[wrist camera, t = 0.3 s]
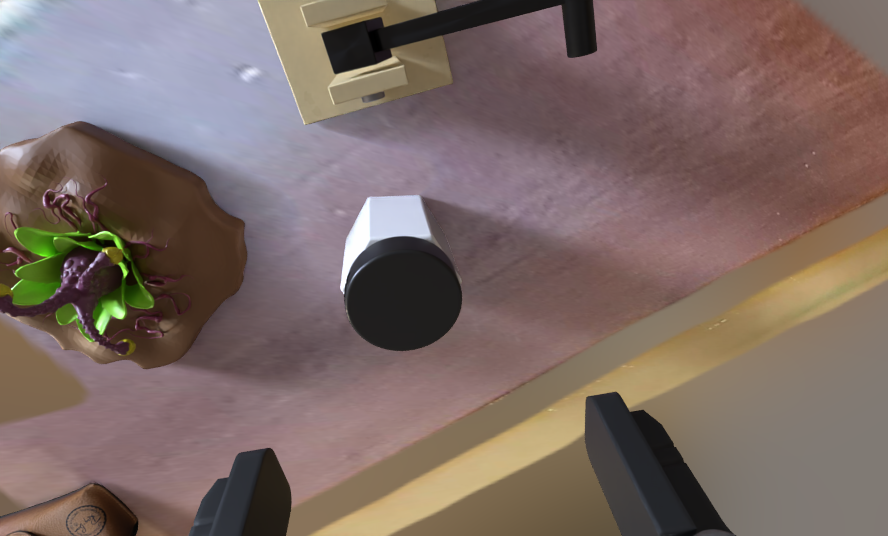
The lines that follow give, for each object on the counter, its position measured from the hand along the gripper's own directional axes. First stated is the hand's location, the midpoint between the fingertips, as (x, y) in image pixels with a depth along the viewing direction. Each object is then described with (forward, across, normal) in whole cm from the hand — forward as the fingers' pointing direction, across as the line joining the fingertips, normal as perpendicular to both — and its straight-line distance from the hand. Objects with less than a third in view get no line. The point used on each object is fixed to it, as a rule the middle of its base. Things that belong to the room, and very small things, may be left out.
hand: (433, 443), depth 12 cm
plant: (+30, +26, +5) cm, 40 cm away
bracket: (+32, +2, -7) cm, 33 cm away
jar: (+31, +2, +9) cm, 32 cm away
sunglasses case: (+28, +46, +36) cm, 65 cm away
